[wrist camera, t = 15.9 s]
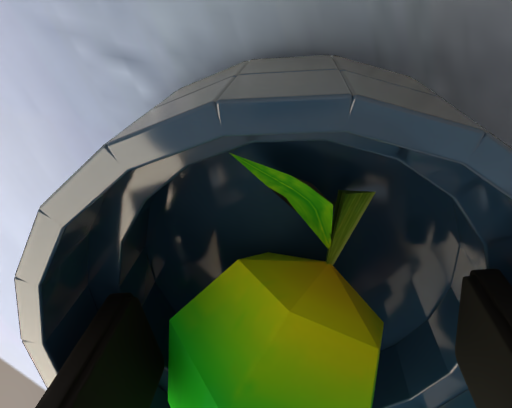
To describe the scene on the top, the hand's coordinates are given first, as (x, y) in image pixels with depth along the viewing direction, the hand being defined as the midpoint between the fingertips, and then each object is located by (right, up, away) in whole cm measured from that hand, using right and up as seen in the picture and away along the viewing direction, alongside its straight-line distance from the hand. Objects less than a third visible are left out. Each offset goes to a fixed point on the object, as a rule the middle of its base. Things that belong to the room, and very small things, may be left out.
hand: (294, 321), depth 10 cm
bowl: (0, +2, +3) cm, 3 cm away
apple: (-2, -4, +1) cm, 5 cm away
